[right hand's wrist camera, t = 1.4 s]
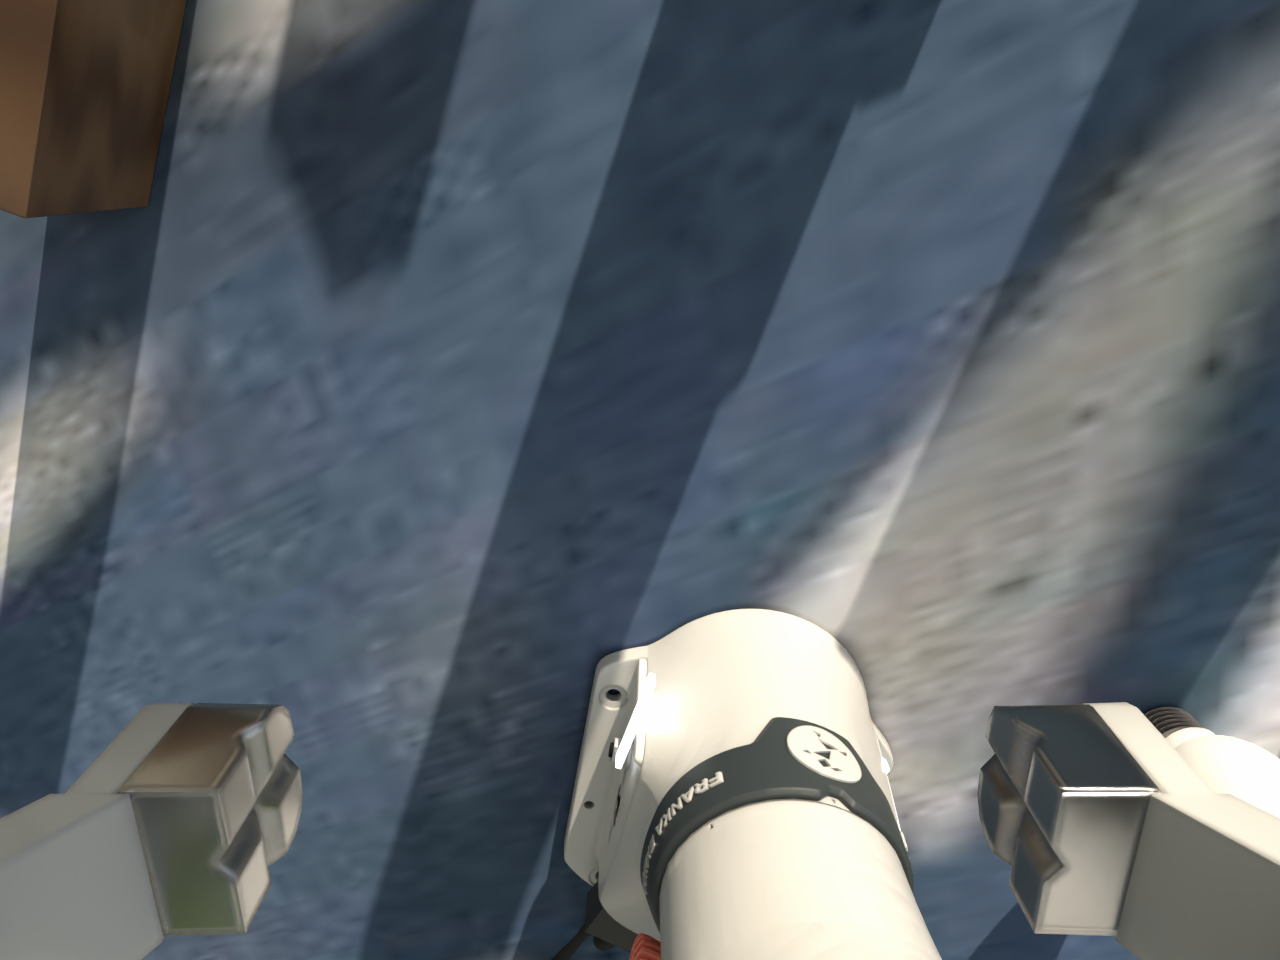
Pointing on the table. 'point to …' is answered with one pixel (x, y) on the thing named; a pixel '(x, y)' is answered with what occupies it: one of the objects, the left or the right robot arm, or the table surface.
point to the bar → (83, 102)
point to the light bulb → (1222, 759)
